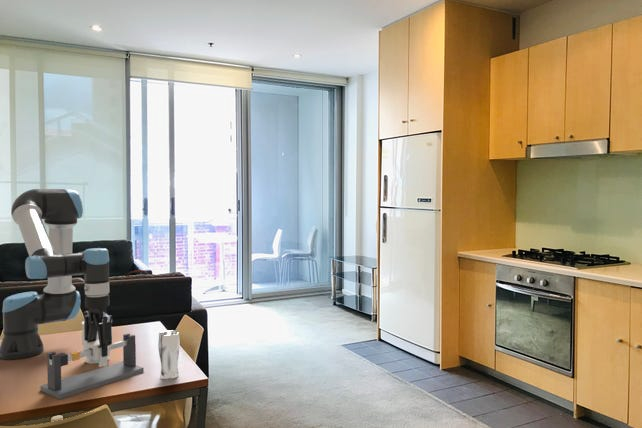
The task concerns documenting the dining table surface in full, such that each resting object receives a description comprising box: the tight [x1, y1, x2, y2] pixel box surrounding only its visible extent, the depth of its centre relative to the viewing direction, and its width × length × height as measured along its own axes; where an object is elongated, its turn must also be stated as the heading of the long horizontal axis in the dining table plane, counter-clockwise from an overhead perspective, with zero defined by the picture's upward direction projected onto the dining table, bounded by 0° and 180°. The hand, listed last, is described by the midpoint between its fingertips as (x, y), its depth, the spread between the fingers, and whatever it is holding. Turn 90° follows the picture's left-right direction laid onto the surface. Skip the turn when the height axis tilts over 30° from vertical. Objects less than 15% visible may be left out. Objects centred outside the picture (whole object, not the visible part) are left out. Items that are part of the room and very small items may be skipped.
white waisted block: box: [157, 329, 181, 380], centre depth 168 cm, size 7×7×15 cm
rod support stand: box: [39, 333, 145, 400], centre depth 164 cm, size 12×29×12 cm, turn 144°
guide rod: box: [49, 339, 128, 367], centre depth 164 cm, size 3×28×3 cm, turn 144°
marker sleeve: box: [86, 340, 110, 361], centre depth 165 cm, size 5×5×5 cm
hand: (98, 363), depth 165 cm, fingers closed on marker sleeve, 5 cm apart
